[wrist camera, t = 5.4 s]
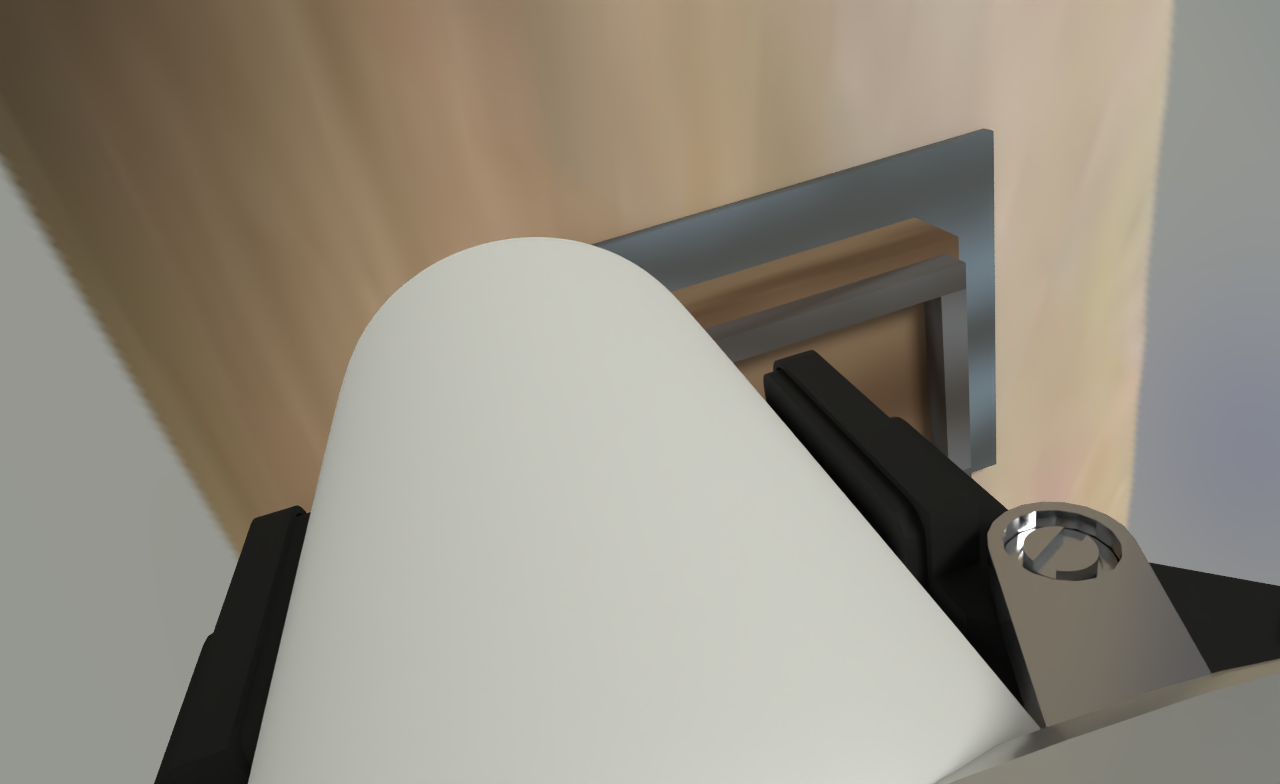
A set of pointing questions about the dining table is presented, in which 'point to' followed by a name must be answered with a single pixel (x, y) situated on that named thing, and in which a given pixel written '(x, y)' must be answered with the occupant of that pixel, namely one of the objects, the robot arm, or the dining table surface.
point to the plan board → (857, 284)
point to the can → (596, 562)
